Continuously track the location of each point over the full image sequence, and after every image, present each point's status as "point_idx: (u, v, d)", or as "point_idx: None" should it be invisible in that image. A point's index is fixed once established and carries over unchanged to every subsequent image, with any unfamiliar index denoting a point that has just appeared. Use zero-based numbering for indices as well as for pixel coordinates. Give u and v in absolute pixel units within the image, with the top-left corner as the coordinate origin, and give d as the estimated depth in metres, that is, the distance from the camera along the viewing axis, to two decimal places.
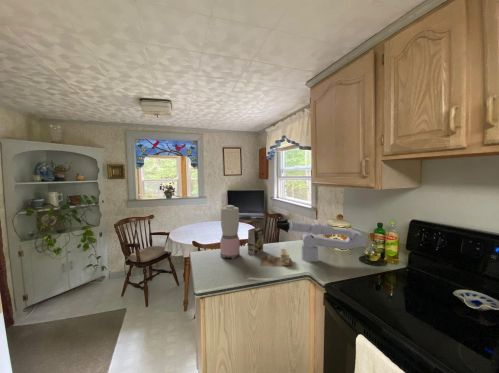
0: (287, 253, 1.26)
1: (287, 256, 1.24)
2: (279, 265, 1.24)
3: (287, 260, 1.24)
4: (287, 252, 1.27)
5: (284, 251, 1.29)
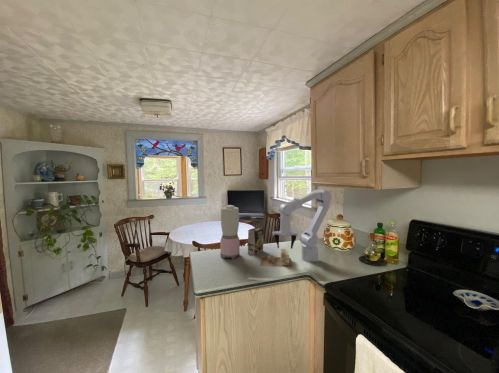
0: (287, 253, 1.26)
1: (287, 256, 1.24)
2: (279, 265, 1.24)
3: (287, 260, 1.24)
4: (287, 252, 1.27)
5: (284, 251, 1.29)
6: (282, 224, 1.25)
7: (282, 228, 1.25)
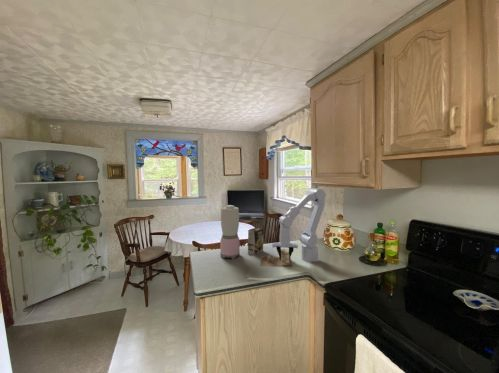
0: (287, 253, 1.26)
1: (287, 256, 1.24)
2: (279, 265, 1.24)
3: (287, 260, 1.24)
4: (287, 252, 1.27)
5: (284, 251, 1.29)
6: (282, 236, 1.25)
7: (282, 240, 1.25)
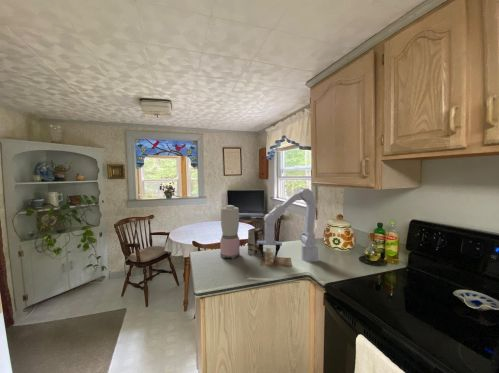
0: (271, 252, 1.27)
1: (271, 255, 1.24)
2: (279, 265, 1.24)
3: (271, 259, 1.25)
4: (272, 251, 1.28)
5: (268, 250, 1.30)
6: (265, 234, 1.26)
7: (266, 237, 1.26)
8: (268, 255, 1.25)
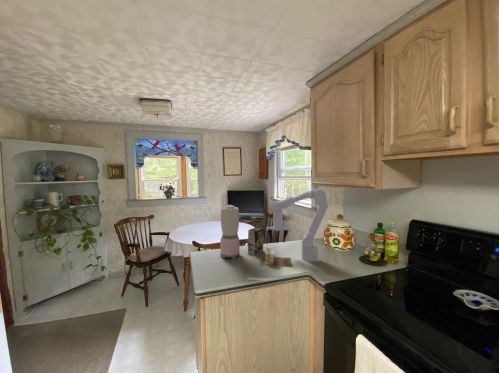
0: (271, 252, 1.27)
1: (271, 255, 1.24)
2: (279, 265, 1.24)
3: (271, 259, 1.25)
4: (272, 251, 1.28)
5: (268, 250, 1.30)
6: (273, 219, 1.37)
7: (275, 223, 1.35)
8: (268, 255, 1.25)
